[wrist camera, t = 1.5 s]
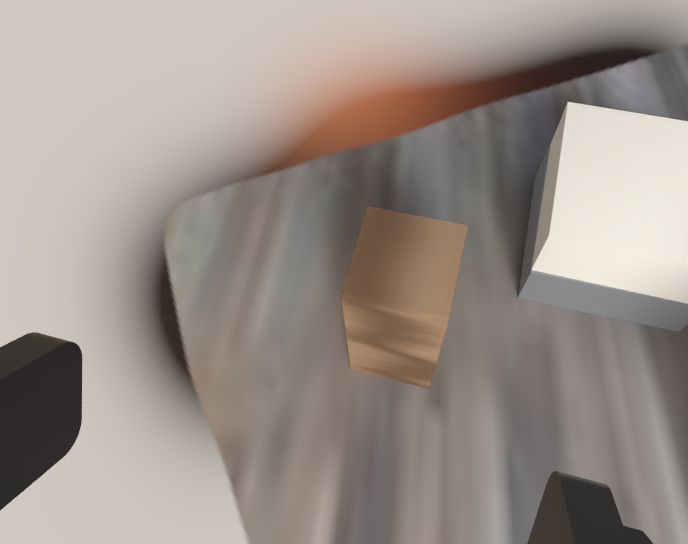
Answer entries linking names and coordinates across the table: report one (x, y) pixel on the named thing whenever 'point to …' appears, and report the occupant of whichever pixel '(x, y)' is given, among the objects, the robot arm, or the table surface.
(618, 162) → the tower top slab
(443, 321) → the walnut block
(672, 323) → the tower base slab
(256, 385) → the table surface
